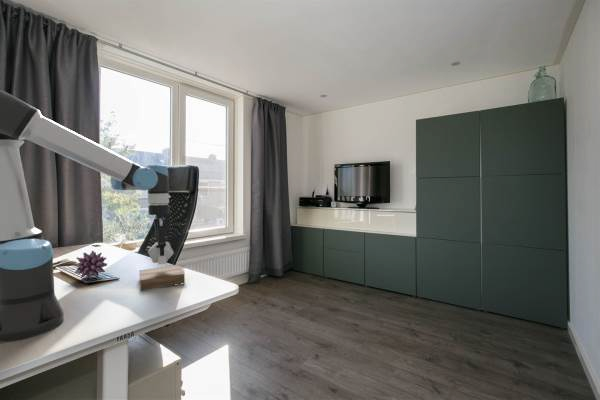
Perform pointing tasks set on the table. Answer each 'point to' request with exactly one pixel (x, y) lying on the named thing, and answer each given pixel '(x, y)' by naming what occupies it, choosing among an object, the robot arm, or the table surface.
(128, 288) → the table surface
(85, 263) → the purple spiky ball
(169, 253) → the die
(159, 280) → the plinth
